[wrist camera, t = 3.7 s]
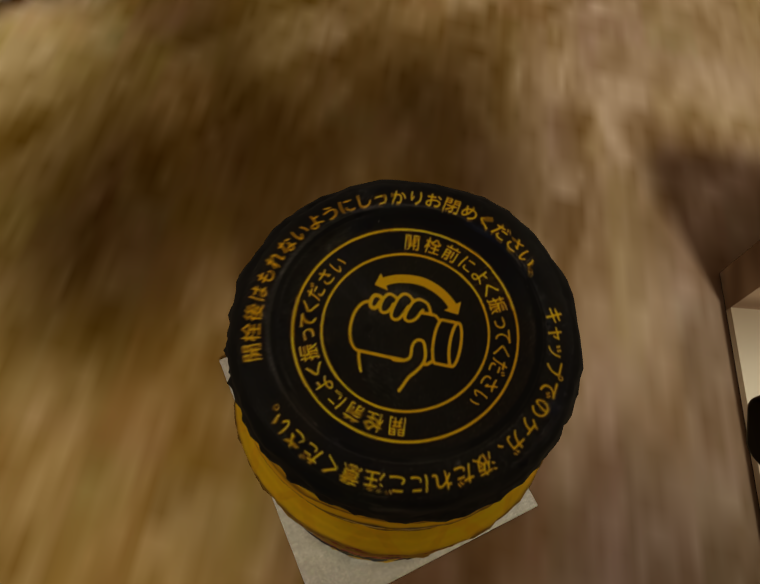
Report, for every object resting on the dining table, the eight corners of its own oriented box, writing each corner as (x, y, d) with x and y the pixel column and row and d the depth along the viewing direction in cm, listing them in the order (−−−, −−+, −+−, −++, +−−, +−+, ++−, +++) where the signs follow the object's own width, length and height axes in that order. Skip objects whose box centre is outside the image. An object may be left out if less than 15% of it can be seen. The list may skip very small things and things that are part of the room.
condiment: (318, 619, 18) (261, 700, 7) (220, 361, 21) (70, 130, 10) (536, 506, 19) (775, 423, 8) (414, 280, 22) (473, 1, 11)
